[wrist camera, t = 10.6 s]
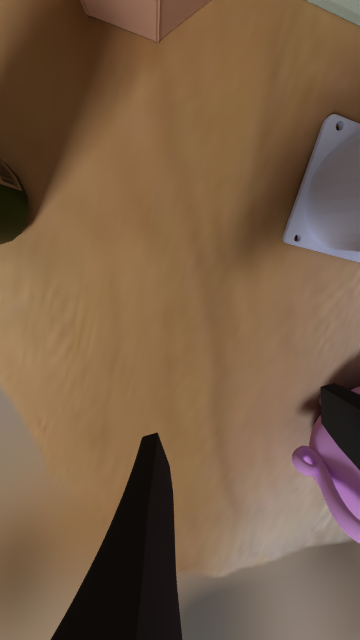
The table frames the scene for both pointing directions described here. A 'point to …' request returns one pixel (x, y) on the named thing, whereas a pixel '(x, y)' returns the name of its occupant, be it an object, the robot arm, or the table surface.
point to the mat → (341, 8)
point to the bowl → (143, 14)
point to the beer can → (11, 204)
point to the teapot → (332, 476)
